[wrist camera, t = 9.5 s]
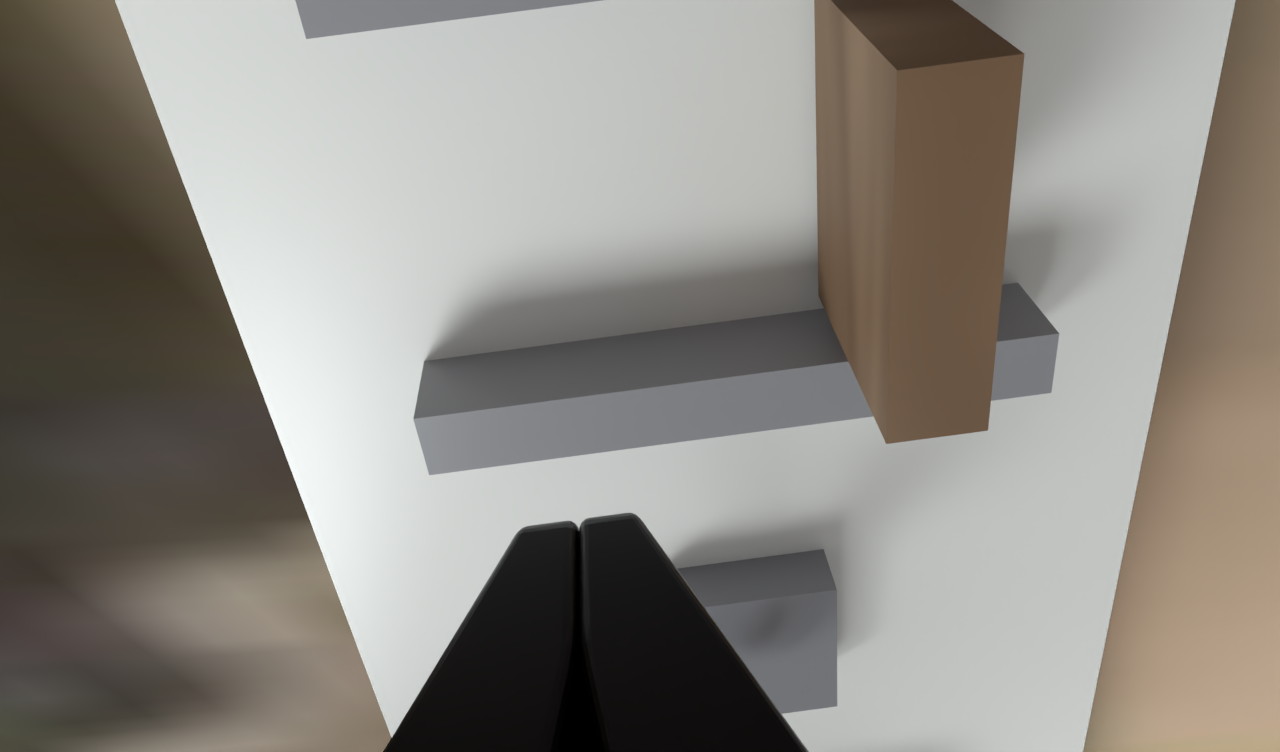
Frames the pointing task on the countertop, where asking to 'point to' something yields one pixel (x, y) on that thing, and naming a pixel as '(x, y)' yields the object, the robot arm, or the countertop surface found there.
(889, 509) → the control panel
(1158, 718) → the countertop surface
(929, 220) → the paddle
